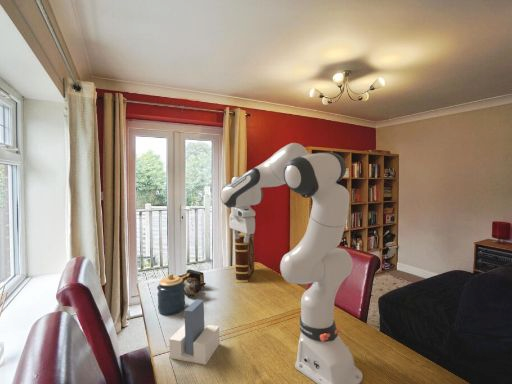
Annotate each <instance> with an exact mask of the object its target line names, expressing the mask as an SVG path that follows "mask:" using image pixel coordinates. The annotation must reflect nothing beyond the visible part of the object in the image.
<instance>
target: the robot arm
mask: <svg viewBox="0 0 512 384" xmlns="http://www.w3.org/2000/svg"><path fill="white" fill-rule="evenodd" d="M346 172H347V164H346V161H345V159H344V158H343V157H342V156H341V155H340V154H338V153H335V152H330V151H329V152H328V151H325V152H324V151H323V152H322V151H321V152H320V151H319V152H318V151H317V152H316V153H309V152H308V150H307V149H306V147H305V146H304V145H302V144H300V143H296V142H290V143H289V144H286V145H285V146H283V147H281V148H279V150H277V151H276V152H274V153H273V154H272V156H270V157H268V159H266V160H265V161H263V162H262V163H260V164H259V165H256V166H255V167H253V168H252V169H249V170H248V171H246V172H245V173H243V174H242V175H238V176H237V175H236V176H234V177H232V178H231V183H226V184H225V185H223V187H222V188H221V190H220V194H219V195H220V201H221V202H222V204H224V206H226V207H227V208H230V214H229V219H228V220H229V221H228V227H229V228H230V230H231V229H232V232H233V235H235V236H234V240H235V239H239V234H238V231H240V232H242V233H244V235H245V238H244V243H248V242H249V236H250V234H254V235H255V231H256V219H255V216H256V211H255V210H254V209H253V208H252V207H251V206H256V205H259V204H261V202H262V200H263V198H264V191H263V188H273V187H274V188H275V187H280V186H282V185H286V186H287V187H288V188H289V189H290V190H291V191H293V192H294V193H296V194H299V195H300V196H301V197H302V198H305V199H310V198H311V199H312V205H311V210H310V215H309V219H308V223H307V227H306V230H305V233H304V235H303V237H302V238H301V240H300V241H299V243H298V244H297V245H296V246H295V247H293V248H292V249H291V250H290V251H288V252H287V253H285V254H284V255H283V256H282V257H281V260H280V264H279V269H280V274H281V276H282V278H283V279H284V280H285V281H286V282H287V283H288V284H295V285H296V284H297V285H306V284H307V285H308V284H311V286H310V287H308V289H306V290H305V291H304V292H303V293H302V295H301V299H300V317H299V331H300V335H299V338H298V347H297V354H296V361H295V365H294V368H295V369H296V370H297V371H298V372H300V373H301V374H303V375H304V376H305V377H307V378H308V379H310V380H312V381H313V382H314V383H316V384H360V383H361V382H362V380H363V373H362V371H361V370H360V369H359V368H358V367H357V366H356V365H355V360H354V356H353V354H352V353H351V350H350V347H349V345H346V344H345V343H344V341H343V340H342V339H341V337H340V336H339V333H341V331H340V330H341V328H337V325H336V321H335V319H334V317H335V315H334V312H335V300H336V296H337V293H338V291H339V288H340V286H341V285H342V283H343V282H344V281H345V279H346V278H347V277H349V275H351V273H352V271H353V268H354V267H353V265H354V263H353V258H352V256H351V255H350V253H349V252H348V251H347V250H346V249H344V248H339V247H338V246H339V245H340V243H341V242H342V239H343V234H344V231H345V229H346V228H345V227H346V224H347V221H348V216H349V210H350V192H349V191H348V189H347V188H346V187H345V186H343V185H341V184H339V183H338V182H340V181H341V180H342V179H343V178H344V177H345V176H346Z"/></svg>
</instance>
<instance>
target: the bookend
mask: <svg viewBox="0 0 512 384" xmlns="http://www.w3.org/2000/svg"><path fill="white" fill-rule="evenodd" d="M177 276H179V277H181V278H182V279H183V281H182V282H184V283H185V285H184V289H185V297H194V296H195V295H197V294H199V293H200V292H201V291H202V289H204V288H205V285H206V282H205V275H204V272H202V271H198V270H194V269H187V270H186V273H183V274H181V275H179V274H178V275H177Z"/></svg>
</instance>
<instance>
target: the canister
mask: <svg viewBox="0 0 512 384" xmlns="http://www.w3.org/2000/svg"><path fill="white" fill-rule="evenodd" d="M182 281H183V279H182V278H181V277H179V276H178V275H174V274H173V273H169V274H168V275H167V276H165V277H163V278H161V279H160V280H159V281H158V285H157V287H156V290H157V291H158V292H157V294H156V295H157V310H158V313H159V314H160V315H165V316H170V315H172V316H173V315H175V314H178V313H181V312H183V310H185V309H186V298H185V297H186V292H185V289H184V285H185V283H184V282H182Z"/></svg>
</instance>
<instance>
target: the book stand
mask: <svg viewBox="0 0 512 384" xmlns="http://www.w3.org/2000/svg"><path fill="white" fill-rule="evenodd" d="M204 328H205V330H204V331H203V332H202V333H201V334H200V336H199V337H198V338H197V339H196V340H195V342H194V343H193V351H194V355H189V354H186V342H185V323H184V324H183V325H182V326H181V327H180V328H179V329H178V330H177V331H175V333H174V334H173V335H172V336H171V337H170V338H169V359H174V360H179V361H184V362H189V363H194V364H200V365H205V366H206V365H207V363H208V362H209V361H210V359H211V357H212V356H213V354H214V353H215V351H217V349H218V347H219V346H220V343H221V342H220V326H219V325H214V324H213V325H212V324H208V325H207V326H206V327H204Z"/></svg>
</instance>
